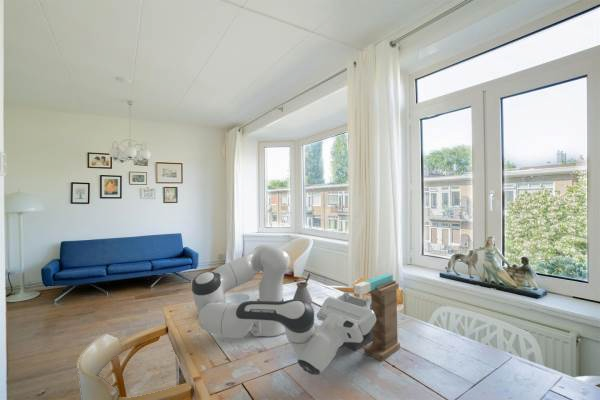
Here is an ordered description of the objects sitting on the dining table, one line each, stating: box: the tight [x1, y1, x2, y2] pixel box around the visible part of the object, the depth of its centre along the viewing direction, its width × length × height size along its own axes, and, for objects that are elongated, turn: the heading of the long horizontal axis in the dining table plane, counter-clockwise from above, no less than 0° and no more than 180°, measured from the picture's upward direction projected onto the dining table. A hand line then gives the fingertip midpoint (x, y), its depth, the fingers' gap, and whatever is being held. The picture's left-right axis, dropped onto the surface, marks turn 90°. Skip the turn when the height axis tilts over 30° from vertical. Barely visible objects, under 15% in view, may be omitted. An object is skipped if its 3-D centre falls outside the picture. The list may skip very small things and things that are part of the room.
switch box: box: [341, 295, 372, 352], centre depth 120 cm, size 14×13×16 cm
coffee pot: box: [292, 273, 313, 305], centre depth 165 cm, size 21×12×15 cm, turn 160°
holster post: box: [363, 279, 401, 362], centre depth 111 cm, size 8×13×27 cm, turn 132°
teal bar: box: [353, 273, 394, 296], centre depth 108 cm, size 3×22×3 cm, turn 132°
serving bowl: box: [224, 292, 252, 304], centre depth 155 cm, size 21×21×7 cm
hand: (358, 296), depth 100 cm, fingers open, 8 cm apart
